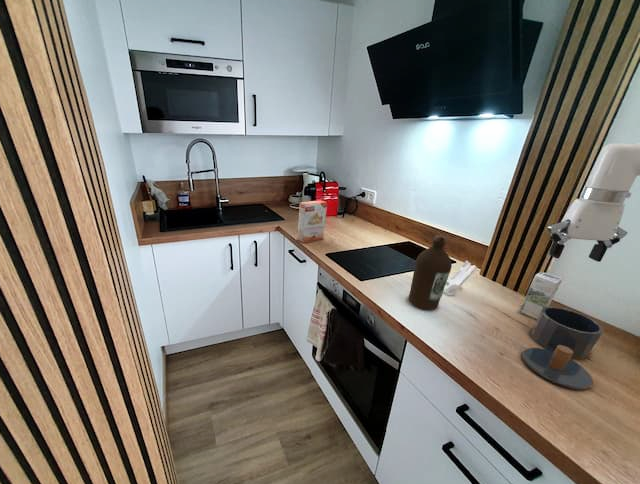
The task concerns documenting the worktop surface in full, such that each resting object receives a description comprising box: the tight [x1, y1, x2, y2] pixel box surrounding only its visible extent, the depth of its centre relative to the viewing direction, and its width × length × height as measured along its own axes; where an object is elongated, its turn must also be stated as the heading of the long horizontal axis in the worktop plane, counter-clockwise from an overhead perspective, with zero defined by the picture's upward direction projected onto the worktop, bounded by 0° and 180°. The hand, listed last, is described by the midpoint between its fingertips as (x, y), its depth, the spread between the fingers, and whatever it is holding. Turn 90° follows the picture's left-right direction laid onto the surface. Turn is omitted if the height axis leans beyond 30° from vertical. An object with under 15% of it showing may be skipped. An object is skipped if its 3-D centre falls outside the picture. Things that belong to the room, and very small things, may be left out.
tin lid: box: [521, 345, 594, 390], centre depth 72 cm, size 13×13×7 cm
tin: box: [530, 306, 604, 360], centre depth 81 cm, size 12×12×8 cm
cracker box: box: [297, 200, 328, 244], centre depth 152 cm, size 14×6×21 cm, turn 120°
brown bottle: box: [408, 234, 452, 311], centre depth 95 cm, size 11×11×25 cm
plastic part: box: [443, 260, 478, 296], centre depth 107 cm, size 8×10×12 cm
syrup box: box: [519, 271, 563, 321], centre depth 93 cm, size 6×6×14 cm
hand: (573, 258), depth 78 cm, fingers open, 9 cm apart
